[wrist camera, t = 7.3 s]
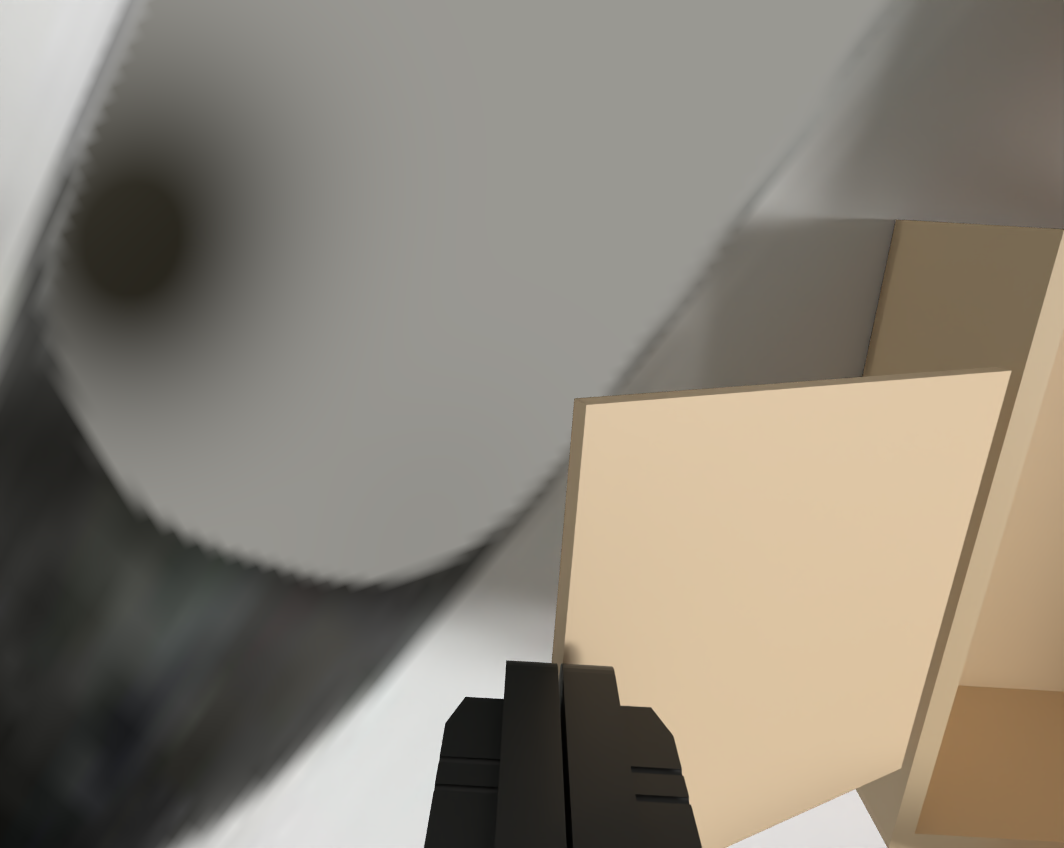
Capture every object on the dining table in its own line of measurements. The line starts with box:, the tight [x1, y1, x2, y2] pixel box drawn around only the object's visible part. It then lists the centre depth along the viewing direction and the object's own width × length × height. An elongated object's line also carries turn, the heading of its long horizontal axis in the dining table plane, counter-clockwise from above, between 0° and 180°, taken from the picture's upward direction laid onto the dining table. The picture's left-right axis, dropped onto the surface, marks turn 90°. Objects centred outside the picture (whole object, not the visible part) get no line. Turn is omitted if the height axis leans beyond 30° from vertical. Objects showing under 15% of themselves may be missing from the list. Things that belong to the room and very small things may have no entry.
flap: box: [552, 367, 1011, 848], centre depth 12 cm, size 9×9×1 cm
